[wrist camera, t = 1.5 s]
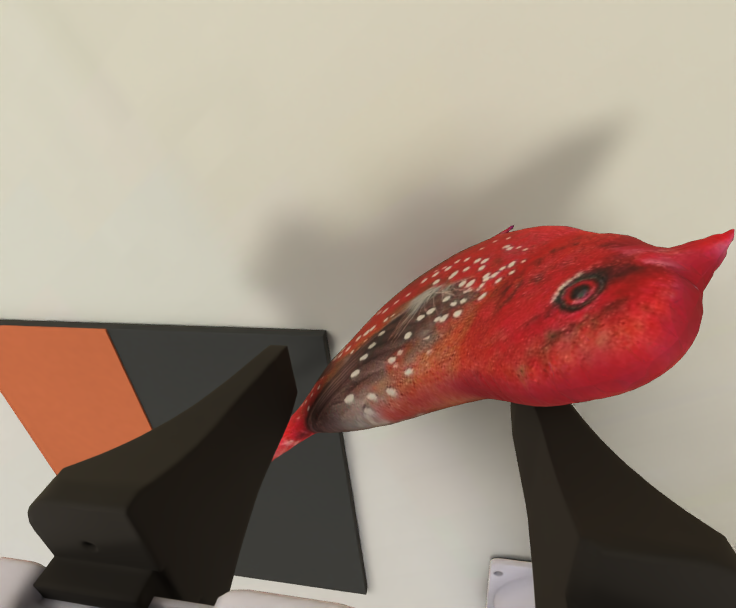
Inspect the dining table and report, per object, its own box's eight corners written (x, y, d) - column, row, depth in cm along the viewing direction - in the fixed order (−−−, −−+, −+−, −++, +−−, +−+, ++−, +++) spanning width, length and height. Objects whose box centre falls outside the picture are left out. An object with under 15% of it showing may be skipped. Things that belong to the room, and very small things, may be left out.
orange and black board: (325, 329, 21) (322, 337, 20) (367, 587, 32) (366, 596, 32) (-35, 318, 24) (-45, 324, 24) (117, 551, 36) (112, 559, 35)
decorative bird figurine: (646, 178, 15) (860, 361, 6) (301, 405, 23) (198, 613, 15) (596, 107, 14) (761, 208, 6) (260, 368, 23) (127, 562, 14)
